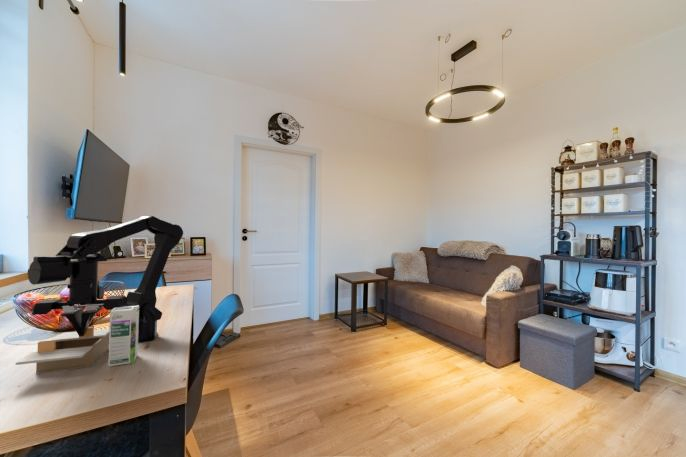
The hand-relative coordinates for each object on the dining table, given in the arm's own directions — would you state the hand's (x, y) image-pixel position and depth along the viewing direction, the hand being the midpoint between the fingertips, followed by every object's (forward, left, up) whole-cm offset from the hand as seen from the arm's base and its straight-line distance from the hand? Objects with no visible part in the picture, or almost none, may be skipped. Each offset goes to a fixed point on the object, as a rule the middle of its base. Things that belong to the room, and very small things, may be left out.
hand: (82, 335), depth 79 cm
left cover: (+1, +10, -1) cm, 10 cm away
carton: (+1, 0, -6) cm, 6 cm away
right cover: (+1, -4, -1) cm, 4 cm away
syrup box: (-11, +5, -7) cm, 14 cm away
